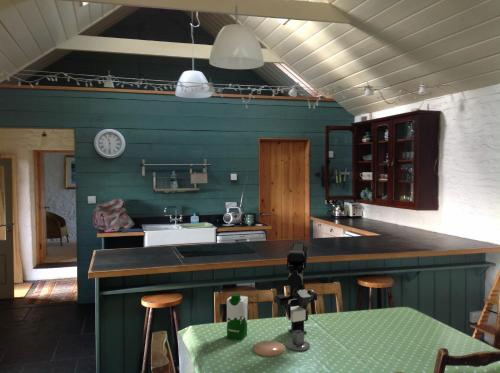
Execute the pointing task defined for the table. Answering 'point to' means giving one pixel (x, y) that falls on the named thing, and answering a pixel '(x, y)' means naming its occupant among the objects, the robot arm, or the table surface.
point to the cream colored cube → (297, 314)
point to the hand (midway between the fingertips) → (295, 317)
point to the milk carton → (237, 317)
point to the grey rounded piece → (298, 342)
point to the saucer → (269, 348)
